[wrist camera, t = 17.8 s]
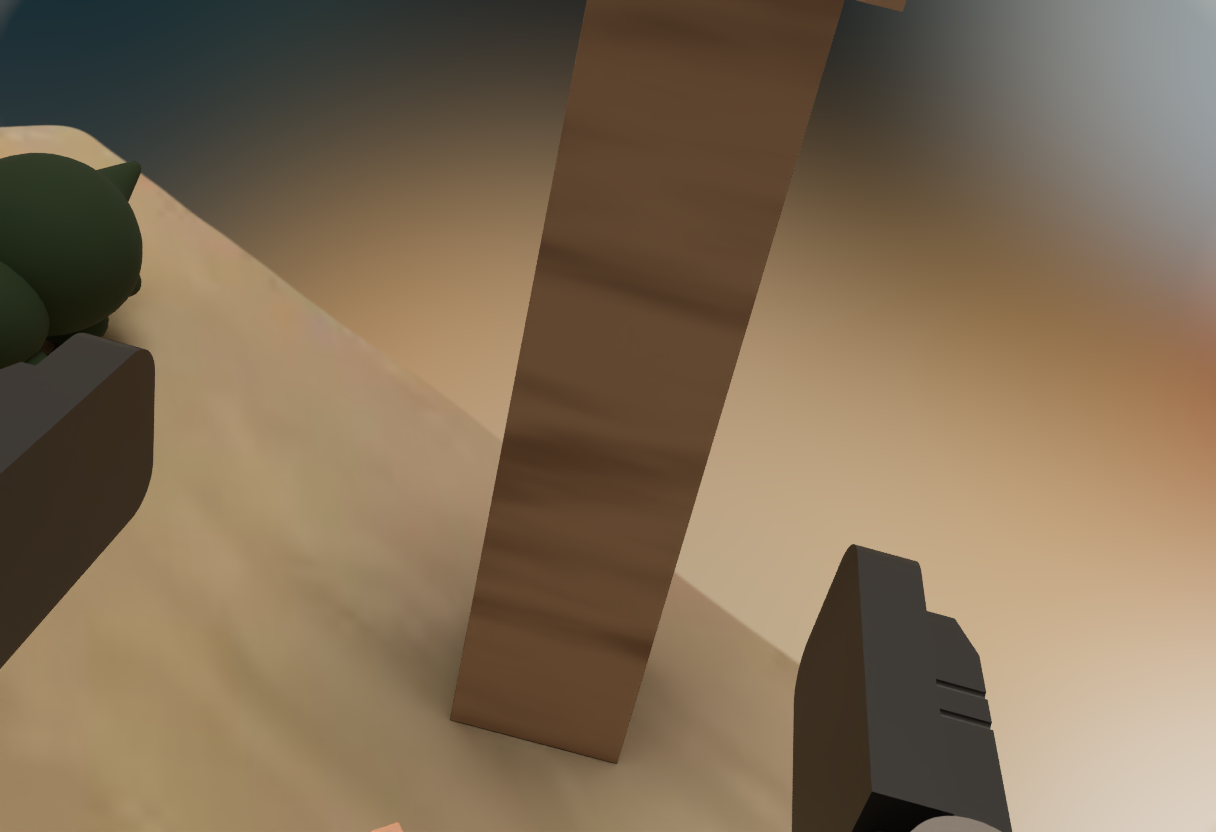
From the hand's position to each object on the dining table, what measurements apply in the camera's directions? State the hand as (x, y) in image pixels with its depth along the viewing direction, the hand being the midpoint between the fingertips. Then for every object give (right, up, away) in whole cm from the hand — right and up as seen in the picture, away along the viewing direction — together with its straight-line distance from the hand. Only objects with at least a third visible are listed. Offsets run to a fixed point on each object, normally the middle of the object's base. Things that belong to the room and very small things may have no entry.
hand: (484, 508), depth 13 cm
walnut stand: (-1, -10, +37) cm, 39 cm away
